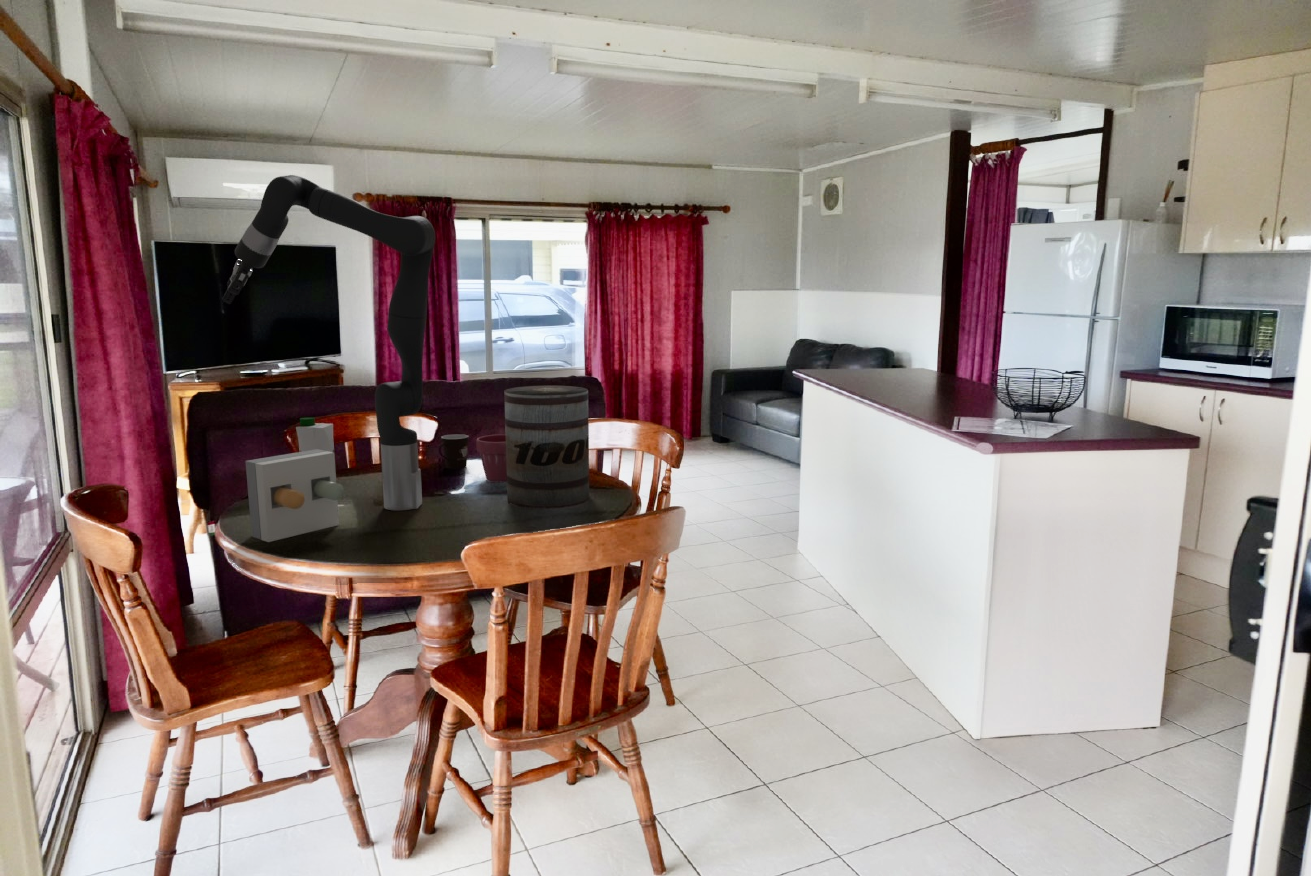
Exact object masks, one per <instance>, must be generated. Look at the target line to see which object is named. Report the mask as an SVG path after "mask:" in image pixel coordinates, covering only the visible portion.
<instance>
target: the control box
mask: <svg viewBox="0 0 1311 876" xmlns="http://www.w3.org/2000/svg"><path fill="white" fill-rule="evenodd" d="M335 457H336V456H335V452H334V453H333V452H328V451H323V450H319V449H316V450H309V451H303V452H292V453H286V454H279V455H273V456H268V457H267V456H266V457H262V458H261V457H260V458H255V459H248V460H245V472H246V481H247V483H246V484H247V495H248V507H249V518H250V531H251V537H252V538H254V539H258V540H261V541H263V542H267V543H271V542H274V541H278V540H279V541H280V540H283V539H287V538H290V537H295V536H300V535H303V534H307V533H312V532H315V531H321V530H325V529H328V528H331V527H336V526H340V520H339V505H338V504H339V503H338V500H331V499H327V498H324V497H320V496H317V495H316V494H315V492H314V487H315V484H316V483H317V482H318V481H320V480H326V481H330V482H334V483H337V474H336V472H337V471H336V458H335ZM279 488H287V489H291V490H295V491H298V492H301V493H302V494H303V495H304V498H305V501H304V504H303V505H302V506H301V507H300V508H298V509H292V508H289V507H285V506H282V505H279V504H277V503H276V502H275V501H274V494H275V492H276V491H277V490H278V489H279Z"/></svg>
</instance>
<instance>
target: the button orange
mask: <svg viewBox="0 0 1311 876" xmlns="http://www.w3.org/2000/svg"><path fill="white" fill-rule="evenodd" d="M274 501H275V502H276V503H277V504H279V505H282V506H285V507H289V508H292V509H298V508H300V507H301V506H302V505H303V504H304V501H305V498H304V495H303V494H302V493H301V492H298V491H295V490H291V489H287V488H279V489H278V490H277V491H276V492H275V494H274Z"/></svg>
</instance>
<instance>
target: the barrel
mask: <svg viewBox="0 0 1311 876" xmlns="http://www.w3.org/2000/svg"><path fill="white" fill-rule="evenodd" d="M503 392H504V418H505V419H504V421H505V424H504V425H505V426H504V427H505V434H506V465H507V482H506V488H507V489H506V493H507V495H506V496H507V502H508V503H509V504H510V505H514V506H516V507H522V508H526V509H527V508H528V509H547V510H548V509H559V508H561V509H563V508H568V507H574V506H578V505H581V504H584V503H585V502H587V501H588V500H589V499H590V446H589V445H590V440H589V439H590V437H589V390H588V388H585V387H581V386H580V387H579V386H574V385H573V386H571V385H529V386H528V385H527V386H516V387H511V388H507V389H504V391H503Z"/></svg>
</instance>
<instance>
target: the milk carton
mask: <svg viewBox="0 0 1311 876" xmlns="http://www.w3.org/2000/svg"><path fill="white" fill-rule="evenodd" d="M295 430H296V435H297V440H298V449H299V452H303V451H309V450H316V449H319V450H323V451H328V452H333V453H334V454H335V447H334V424H333V423H324V422H321V423H320V422H317V423H316V418H315V417H312V416H311V417H310V416H309V417H308V416H307V417H300V418H299V425H298V426H296V427H295Z"/></svg>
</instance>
